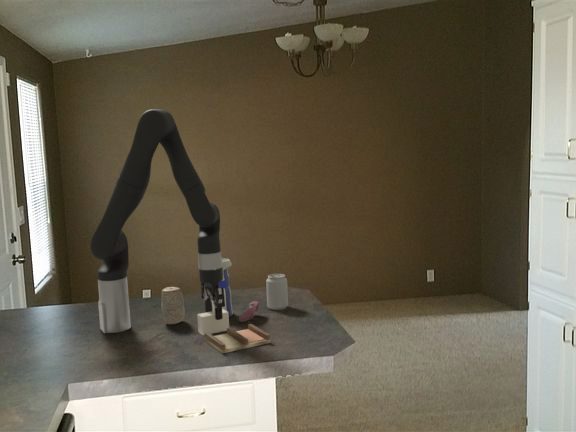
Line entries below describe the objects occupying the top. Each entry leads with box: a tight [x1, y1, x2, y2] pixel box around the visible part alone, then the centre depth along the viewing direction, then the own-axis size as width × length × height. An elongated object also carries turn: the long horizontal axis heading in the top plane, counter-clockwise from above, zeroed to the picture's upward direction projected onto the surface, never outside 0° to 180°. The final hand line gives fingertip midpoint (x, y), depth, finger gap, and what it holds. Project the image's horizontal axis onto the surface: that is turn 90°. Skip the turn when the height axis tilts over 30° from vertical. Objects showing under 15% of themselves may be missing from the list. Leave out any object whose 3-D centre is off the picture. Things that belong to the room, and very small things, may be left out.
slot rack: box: [204, 323, 271, 354], centre depth 177 cm, size 16×13×2 cm
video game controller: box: [238, 300, 261, 323], centre depth 200 cm, size 10×5×7 cm, turn 169°
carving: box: [160, 286, 186, 325], centre depth 198 cm, size 6×8×12 cm
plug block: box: [196, 309, 230, 336], centre depth 188 cm, size 9×4×6 cm, turn 119°
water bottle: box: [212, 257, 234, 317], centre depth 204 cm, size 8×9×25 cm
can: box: [265, 273, 289, 311], centre depth 211 cm, size 8×8×12 cm
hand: (214, 316), depth 187 cm, fingers open, 8 cm apart
